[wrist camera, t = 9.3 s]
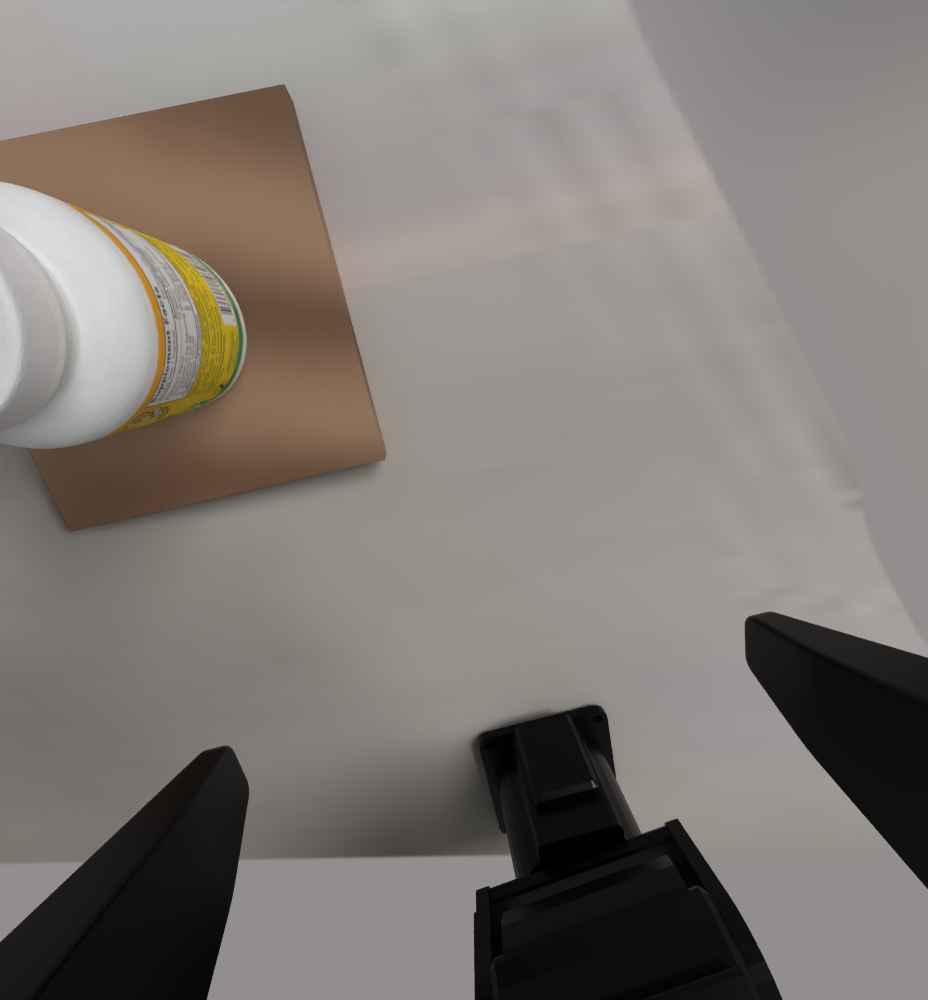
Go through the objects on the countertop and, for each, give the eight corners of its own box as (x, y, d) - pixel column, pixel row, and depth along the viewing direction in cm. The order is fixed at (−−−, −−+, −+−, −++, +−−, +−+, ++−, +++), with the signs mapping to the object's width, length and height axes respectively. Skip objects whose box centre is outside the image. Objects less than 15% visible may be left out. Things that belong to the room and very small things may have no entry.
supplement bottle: (264, 276, 17) (87, 197, 8) (235, 429, 18) (56, 519, 9) (89, 218, 16) (-358, 46, 7) (72, 384, 17) (-315, 434, 8)
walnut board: (386, 452, 20) (384, 459, 19) (89, 520, 20) (69, 531, 19) (292, 102, 16) (284, 84, 15) (-79, 176, 16) (-116, 164, 15)
